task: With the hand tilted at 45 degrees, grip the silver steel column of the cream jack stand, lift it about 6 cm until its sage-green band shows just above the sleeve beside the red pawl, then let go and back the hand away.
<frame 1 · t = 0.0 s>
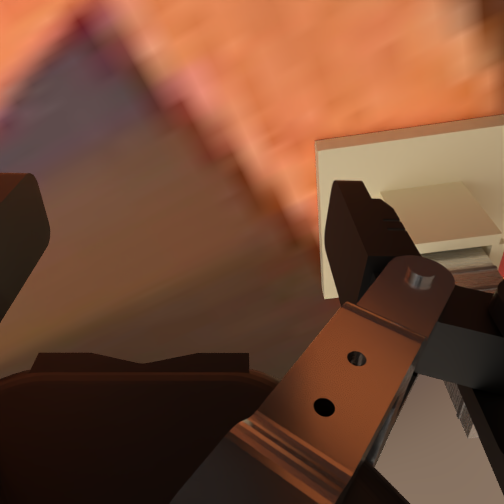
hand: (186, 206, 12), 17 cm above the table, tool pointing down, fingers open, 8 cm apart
stand base: (409, 211, 33), on the table
column: (456, 299, 26), point 9 cm above the table, slide at 0.0 cm
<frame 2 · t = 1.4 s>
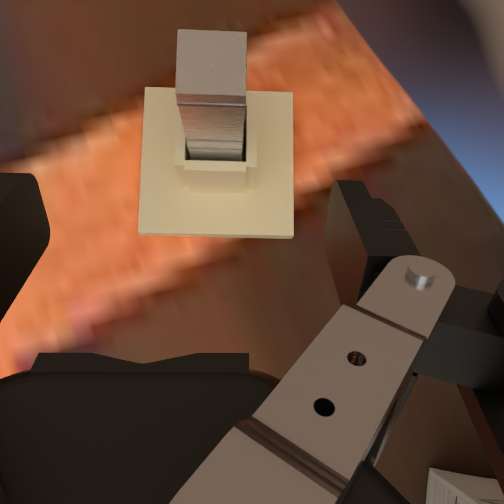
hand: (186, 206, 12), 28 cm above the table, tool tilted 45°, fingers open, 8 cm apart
stand base: (218, 165, 41), on the table
column: (215, 121, 32), point 9 cm above the table, slide at 0.0 cm
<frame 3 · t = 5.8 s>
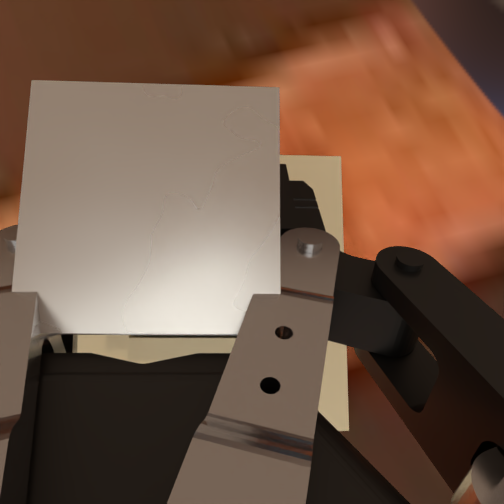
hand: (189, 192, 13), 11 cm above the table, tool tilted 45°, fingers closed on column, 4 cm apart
stand base: (208, 287, 23), on the table
column: (193, 265, 14), point 9 cm above the table, slide at 0.0 cm, touching gripper
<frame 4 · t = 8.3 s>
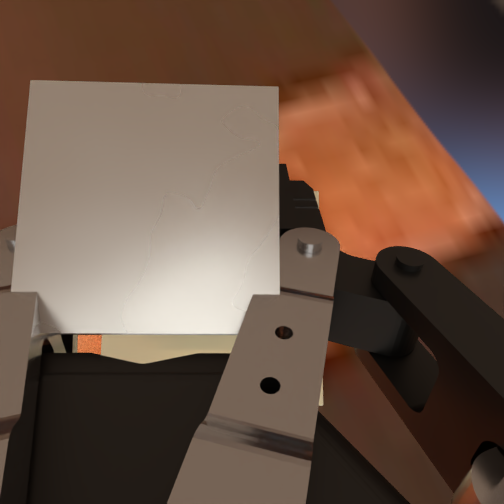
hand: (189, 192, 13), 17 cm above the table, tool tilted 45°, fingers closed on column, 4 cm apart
stand base: (214, 294, 30), on the table
column: (194, 265, 14), point 16 cm above the table, slide at 6.3 cm, touching gripper
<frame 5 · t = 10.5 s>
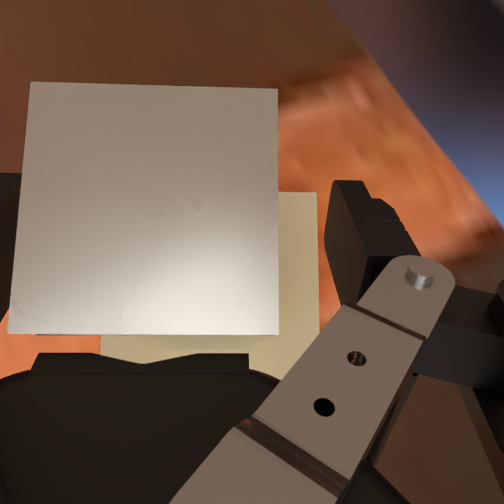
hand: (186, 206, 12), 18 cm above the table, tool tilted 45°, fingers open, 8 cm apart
stand base: (213, 295, 30), on the table
column: (193, 265, 14), point 16 cm above the table, slide at 6.5 cm
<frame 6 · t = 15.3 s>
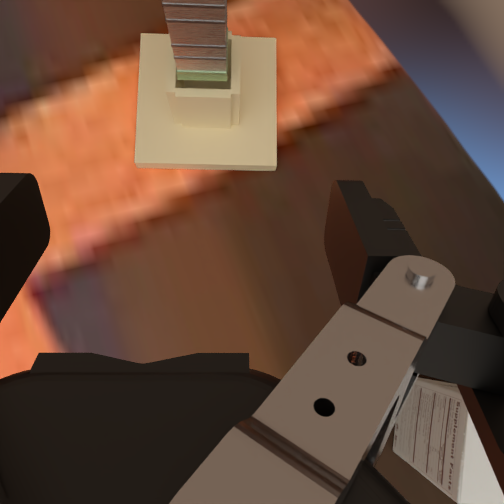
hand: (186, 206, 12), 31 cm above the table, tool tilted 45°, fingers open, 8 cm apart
stand base: (208, 105, 45), on the table
supplement box: (430, 417, 41), on the table
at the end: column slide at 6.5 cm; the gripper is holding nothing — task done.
